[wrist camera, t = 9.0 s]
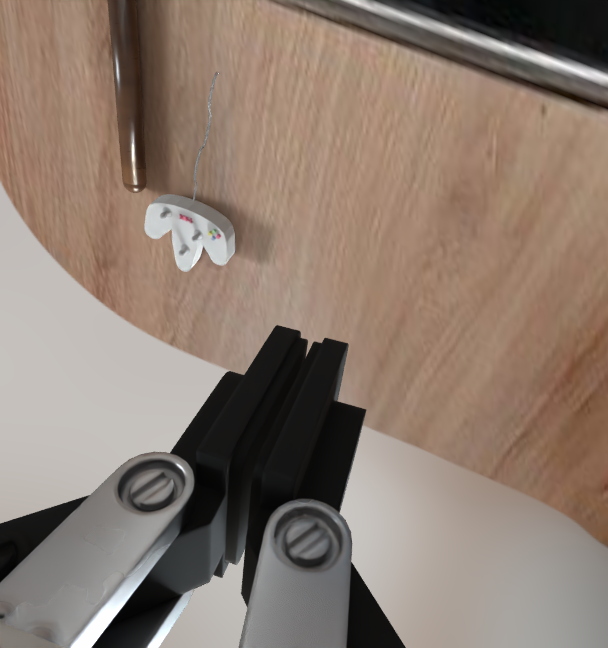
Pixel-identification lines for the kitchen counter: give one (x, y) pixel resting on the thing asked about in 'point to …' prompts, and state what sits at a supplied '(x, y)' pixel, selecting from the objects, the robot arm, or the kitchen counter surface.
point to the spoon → (128, 92)
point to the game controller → (191, 224)
